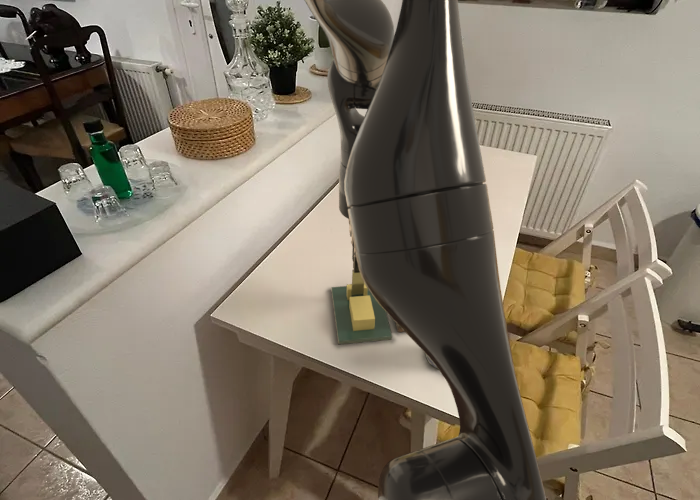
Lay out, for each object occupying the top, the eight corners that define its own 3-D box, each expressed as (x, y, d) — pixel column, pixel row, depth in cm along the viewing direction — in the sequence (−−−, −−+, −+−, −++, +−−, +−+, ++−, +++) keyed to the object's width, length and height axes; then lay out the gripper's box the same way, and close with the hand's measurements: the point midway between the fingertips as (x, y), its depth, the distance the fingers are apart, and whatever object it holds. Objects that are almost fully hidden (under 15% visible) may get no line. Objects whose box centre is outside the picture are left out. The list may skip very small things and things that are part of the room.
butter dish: (391, 339, 80) (392, 336, 80) (338, 344, 79) (338, 341, 78) (378, 286, 91) (378, 283, 90) (331, 290, 90) (331, 287, 89)
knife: (363, 301, 86) (367, 247, 77) (351, 302, 85) (354, 248, 76) (362, 295, 87) (365, 241, 78) (350, 296, 87) (352, 242, 78)
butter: (374, 329, 81) (375, 318, 79) (353, 331, 80) (353, 320, 78) (369, 305, 85) (369, 295, 83) (349, 307, 85) (349, 296, 83)
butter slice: (367, 298, 87) (367, 287, 85) (347, 300, 86) (347, 289, 84) (365, 293, 88) (366, 282, 86) (346, 294, 87) (346, 284, 86)
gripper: (334, 165, 74) (335, 243, 85) (344, 211, 64) (343, 293, 75) (377, 163, 75) (372, 241, 86) (393, 208, 64) (385, 289, 76)
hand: (359, 265), depth 80 cm, fingers closed on knife, 2 cm apart
